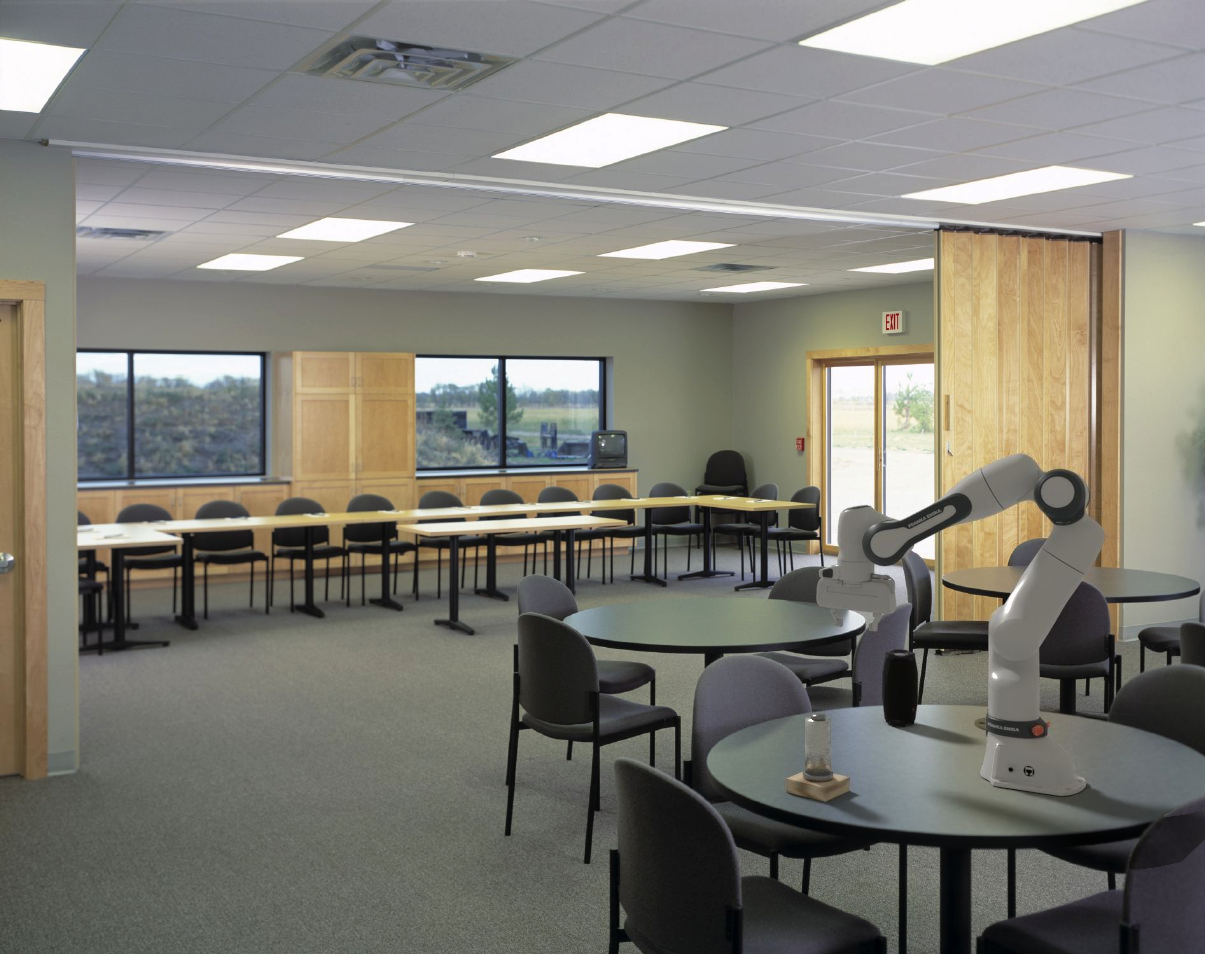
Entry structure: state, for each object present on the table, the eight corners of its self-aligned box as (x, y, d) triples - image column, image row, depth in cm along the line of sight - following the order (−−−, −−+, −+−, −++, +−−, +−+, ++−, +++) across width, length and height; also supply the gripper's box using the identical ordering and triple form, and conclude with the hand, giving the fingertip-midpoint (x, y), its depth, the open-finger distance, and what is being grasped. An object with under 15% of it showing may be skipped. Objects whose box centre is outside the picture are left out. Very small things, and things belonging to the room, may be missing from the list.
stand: (849, 790, 253) (849, 777, 253) (825, 801, 246) (825, 787, 246) (810, 781, 260) (810, 768, 260) (786, 791, 253) (786, 778, 253)
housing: (836, 775, 255) (836, 712, 254) (829, 783, 249) (829, 719, 248) (806, 771, 257) (806, 709, 257) (799, 780, 251) (799, 716, 251)
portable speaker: (923, 726, 307) (924, 653, 306) (891, 728, 305) (892, 655, 304) (907, 718, 315) (907, 647, 314) (876, 720, 313) (876, 649, 312)
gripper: (901, 574, 274) (901, 631, 275) (826, 567, 288) (826, 622, 288) (888, 576, 269) (888, 635, 270) (813, 570, 283) (813, 625, 284)
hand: (855, 628), depth 279 cm, fingers open, 8 cm apart
